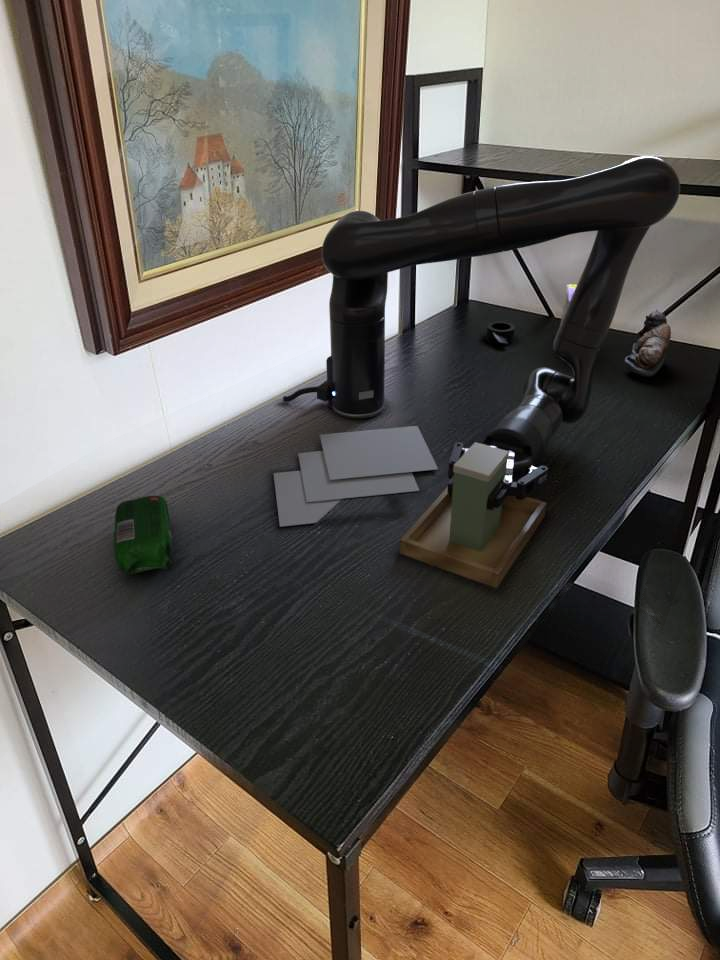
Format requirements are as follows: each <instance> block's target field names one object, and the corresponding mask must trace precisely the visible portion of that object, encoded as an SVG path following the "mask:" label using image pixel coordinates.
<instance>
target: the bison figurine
mask: <svg viewBox="0 0 720 960" xmlns="http://www.w3.org/2000/svg"><path fill="white" fill-rule="evenodd" d="M642 330H643V331H645V333H644V334H643V335H642V336H641V337H640V338H638V339H637V341H636V342H634V343H633V344H632V349H631V354H630V355H627V356H626V357H625V358H624V363H625V365H626V366H627V368H628V370H629V371H630V372H632V373H634V374H635V375H638V376H641V377H646V378H651V377H653V376H655V375H656V374H657V373H658V372H659V370H660V369H661V368H662V367H663V364H664V360H665V357H666V355H667V350H668V348H669V345H670V340H671V339H672V336H671V335H672V331H671V330H672V329H671V326H670V325H669V324H668V320H667V317H666V315H665V314H664V313H663V312H660V311H659V310H658V309H656V310H655V311H652V312H650V313H649V315H645V319H644V321H643V327H642Z"/></svg>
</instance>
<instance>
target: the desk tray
mask: <svg viewBox="0 0 720 960" xmlns="http://www.w3.org/2000/svg"><path fill="white" fill-rule="evenodd" d="M447 492H448V486H447V487H446V488H445V489H444V490H443V491H442V492H441V493H440V494H439V496H437V498H436V499H435V500H434V501H433V502H432V504H430V505H429V506H428V507H427V509H426V510H425V511H424V512H423V513H422V515H421V516H420V517H419V518H418V519H417V520H416V521H415V522H414V523H413V525H412V526H411V527H410V528H409V529H408V530H407V531H406V532H405V534H404V535H402V537H401V538H400V539H399V554H401V555H403V556H407V557H409V558H411V559H414V560H417V561H419V562H423V563H425V564H428V565H431V566H434V567H436V568H439V569H442V570H445V571H448V572H450V573H453V574H456V575H458V576H460V577H464V578H466V579H469V580H471V581H475V582H478V583H481V584H482V585H483V584H484V585H486V586H489V587H492V588H494V589H498V588H499V586H500V584H501V583H502V582H503V580H504V578H505V577H506V575H507V574H508V572H509V571H510V569H511V568H512V566H513V565H514V563H515V562H516V560H517V559H518V557H519V556H520V554H521V553H522V551H523V549H524V548H525V546H526V545H527V543H528V542H529V541H530V539H531V537H532V536H533V535H534V533H535V531H536V530H537V528H538V527H539V525H540V524H541V522H542V520H543V519H544V518H545V516H546V510H547V504H548V503H547V502H546V501H544V500H543V501H542V500H540V499H536V498H533V497H530V496H528V497H526V498H525V499H523V500H518V499H516V498H515V496H510V497H509V498H506V499H505V501H504V502H503V503H502V509H501V518H500V526H499V527H498V529H497V530H496V532H495V533H494V534H493V536H492V537H491V538H490V540H489V541H488V542H487V544H486V545H485V547H484V548H483V549H482V551H481V552H480V551H477V550H474V549H471V548H468V547H466V546H463V545H460V544H457V543H454V542H451V541H449V536H450V522H451V508H452V498H451V497H449V493H447Z"/></svg>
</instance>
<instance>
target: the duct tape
mask: <svg viewBox="0 0 720 960" xmlns="http://www.w3.org/2000/svg"><path fill="white" fill-rule="evenodd" d="M486 326H487V327H486V337H485V339H486V341H487V342H489V344H492V345H500V346H501V345H502V346H504V345H510V344H512V343H513V342H514V341H515V331H516V326H515V324H513V323H512V322H507V321H499V320H498V321H492V322H489V323H488V324H487V325H486Z"/></svg>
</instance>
